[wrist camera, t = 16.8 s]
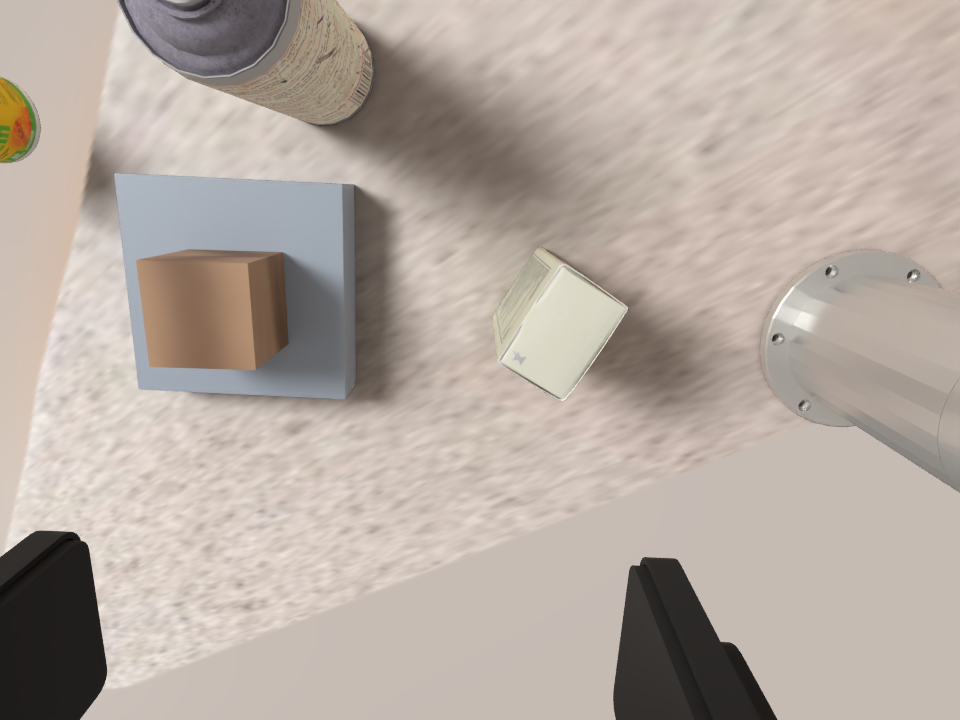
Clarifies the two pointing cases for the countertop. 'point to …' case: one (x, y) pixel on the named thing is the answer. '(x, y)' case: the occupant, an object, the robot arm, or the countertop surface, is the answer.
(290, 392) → the slate base block
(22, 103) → the supplement bottle
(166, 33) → the aerosol can
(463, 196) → the countertop surface
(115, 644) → the countertop surface
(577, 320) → the skincare box
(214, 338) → the walnut cube
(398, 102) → the countertop surface
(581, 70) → the countertop surface
